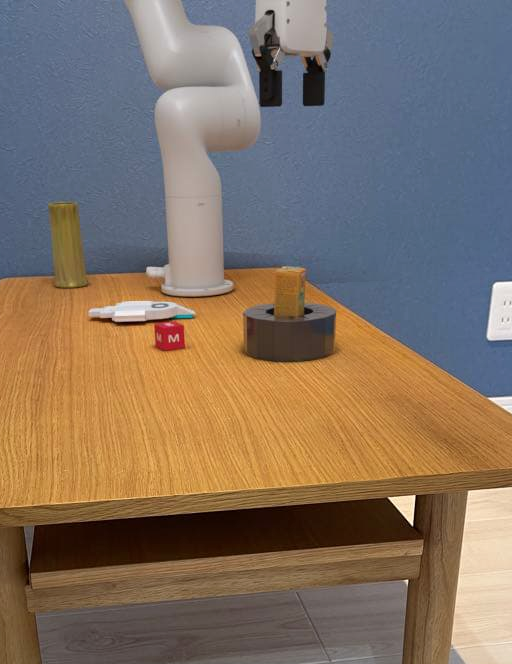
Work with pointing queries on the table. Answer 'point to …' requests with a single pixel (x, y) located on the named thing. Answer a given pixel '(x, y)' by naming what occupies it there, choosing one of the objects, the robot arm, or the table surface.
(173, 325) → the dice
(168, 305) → the toy rocket
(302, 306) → the supplement box
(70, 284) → the vase
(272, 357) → the tape roll
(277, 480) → the table surface
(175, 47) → the robot arm
